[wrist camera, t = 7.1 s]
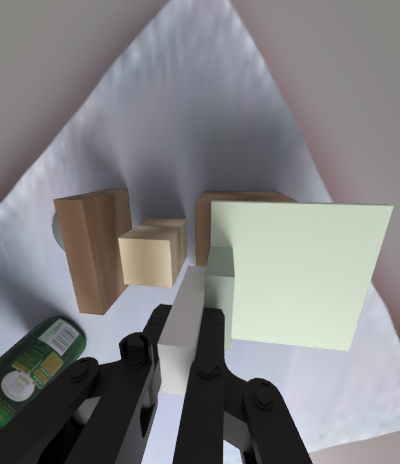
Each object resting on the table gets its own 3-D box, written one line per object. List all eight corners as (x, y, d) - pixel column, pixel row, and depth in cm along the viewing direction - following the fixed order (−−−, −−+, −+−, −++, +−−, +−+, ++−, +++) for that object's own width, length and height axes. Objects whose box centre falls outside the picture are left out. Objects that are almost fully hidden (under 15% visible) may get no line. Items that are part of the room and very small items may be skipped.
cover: (209, 330, 17) (203, 384, 13) (211, 200, 14) (204, 215, 10) (344, 344, 16) (387, 410, 12) (386, 204, 12) (470, 223, 8)
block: (151, 252, 25) (124, 284, 18) (149, 218, 23) (118, 238, 17) (187, 254, 24) (172, 287, 18) (186, 219, 23) (169, 240, 16)
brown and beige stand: (119, 273, 26) (79, 312, 19) (107, 189, 23) (53, 199, 16) (266, 284, 24) (283, 333, 17) (278, 192, 20) (304, 205, 13)
